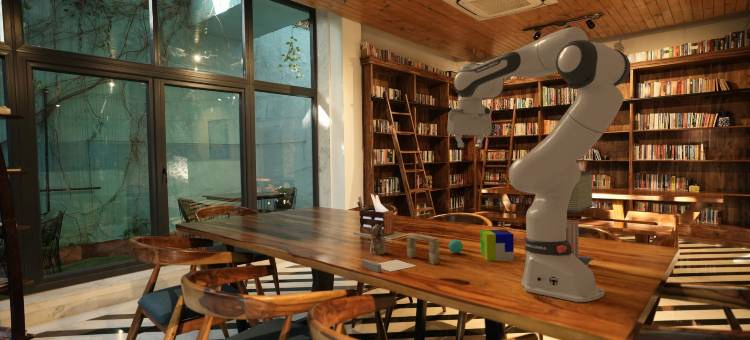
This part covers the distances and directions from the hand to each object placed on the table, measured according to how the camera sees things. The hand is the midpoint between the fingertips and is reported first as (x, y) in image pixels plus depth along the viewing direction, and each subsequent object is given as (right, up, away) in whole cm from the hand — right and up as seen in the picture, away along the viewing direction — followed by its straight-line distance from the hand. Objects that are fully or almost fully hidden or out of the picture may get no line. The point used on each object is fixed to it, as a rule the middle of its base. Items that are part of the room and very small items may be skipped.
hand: (469, 147), depth 155 cm
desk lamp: (+32, -43, -8) cm, 54 cm away
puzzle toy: (+12, -43, +8) cm, 45 cm away
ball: (-2, -40, +16) cm, 43 cm away
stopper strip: (-36, -44, -6) cm, 57 cm away
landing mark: (-28, -43, -2) cm, 52 cm away
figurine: (-34, -43, +20) cm, 58 cm away
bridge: (-17, -43, +6) cm, 47 cm away
